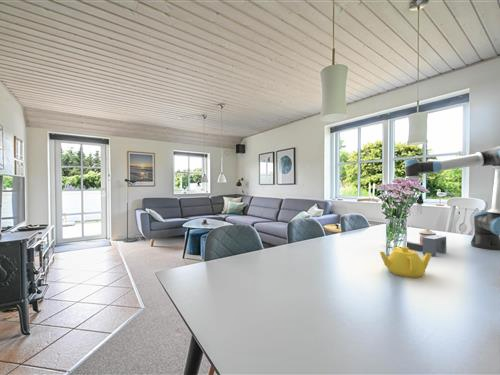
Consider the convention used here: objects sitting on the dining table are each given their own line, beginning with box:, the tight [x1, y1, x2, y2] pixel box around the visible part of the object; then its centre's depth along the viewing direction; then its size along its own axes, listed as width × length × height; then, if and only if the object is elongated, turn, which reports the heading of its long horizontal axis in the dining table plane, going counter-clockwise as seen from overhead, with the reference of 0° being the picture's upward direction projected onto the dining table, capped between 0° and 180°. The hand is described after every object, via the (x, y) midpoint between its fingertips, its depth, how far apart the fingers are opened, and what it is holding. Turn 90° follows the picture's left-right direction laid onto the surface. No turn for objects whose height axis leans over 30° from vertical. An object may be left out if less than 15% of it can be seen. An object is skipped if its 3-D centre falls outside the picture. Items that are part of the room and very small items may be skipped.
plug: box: [406, 240, 423, 253], centre depth 161 cm, size 6×22×6 cm, turn 28°
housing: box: [422, 234, 447, 257], centre depth 146 cm, size 14×6×10 cm, turn 119°
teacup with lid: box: [418, 228, 437, 244], centre depth 163 cm, size 12×9×12 cm
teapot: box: [379, 246, 432, 278], centre depth 116 cm, size 17×17×12 cm
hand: (413, 214), depth 163 cm, fingers open, 13 cm apart
